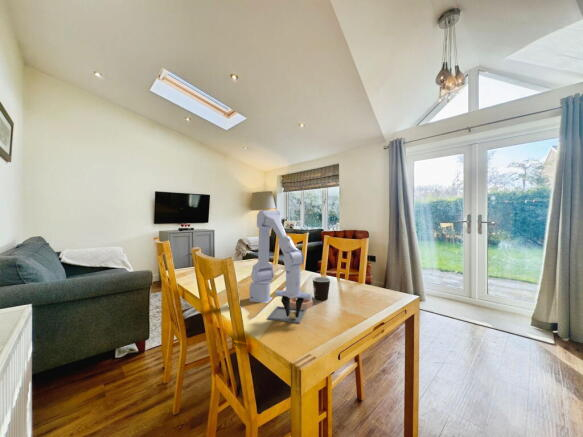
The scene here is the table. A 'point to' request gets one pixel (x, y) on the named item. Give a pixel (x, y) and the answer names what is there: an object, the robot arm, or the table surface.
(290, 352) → the table surface
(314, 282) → the coffee mug
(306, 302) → the bowl
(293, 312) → the tan ball
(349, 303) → the table surface
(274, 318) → the parts tray
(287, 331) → the table surface
